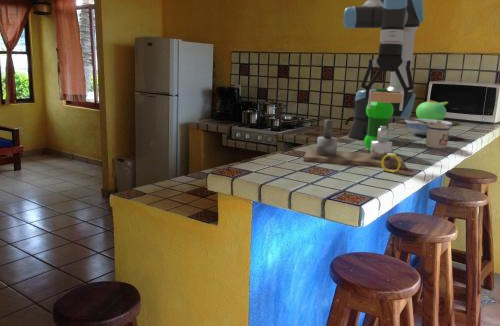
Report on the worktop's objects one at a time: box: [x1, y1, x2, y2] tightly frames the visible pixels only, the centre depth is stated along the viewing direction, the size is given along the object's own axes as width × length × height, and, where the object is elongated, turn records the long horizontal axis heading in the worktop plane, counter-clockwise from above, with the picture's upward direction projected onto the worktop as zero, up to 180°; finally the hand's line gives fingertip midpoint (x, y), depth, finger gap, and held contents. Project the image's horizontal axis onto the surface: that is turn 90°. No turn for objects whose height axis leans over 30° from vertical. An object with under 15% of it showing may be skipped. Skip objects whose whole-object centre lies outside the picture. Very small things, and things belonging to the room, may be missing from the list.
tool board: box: [303, 119, 405, 170], centre depth 156 cm, size 34×16×14 cm, turn 77°
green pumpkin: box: [415, 99, 449, 121], centre depth 279 cm, size 18×17×15 cm
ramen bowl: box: [403, 117, 453, 137], centre depth 224 cm, size 25×23×8 cm
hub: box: [369, 126, 393, 160], centre depth 154 cm, size 7×7×12 cm
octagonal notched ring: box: [371, 92, 402, 103], centre depth 151 cm, size 10×10×3 cm
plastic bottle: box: [363, 88, 394, 152], centre depth 174 cm, size 10×10×25 cm
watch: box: [381, 152, 401, 173], centre depth 142 cm, size 6×3×6 cm, turn 55°
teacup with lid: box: [425, 120, 451, 150], centre depth 191 cm, size 12×9×12 cm
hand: (384, 109), depth 152 cm, fingers closed on octagonal notched ring, 10 cm apart
